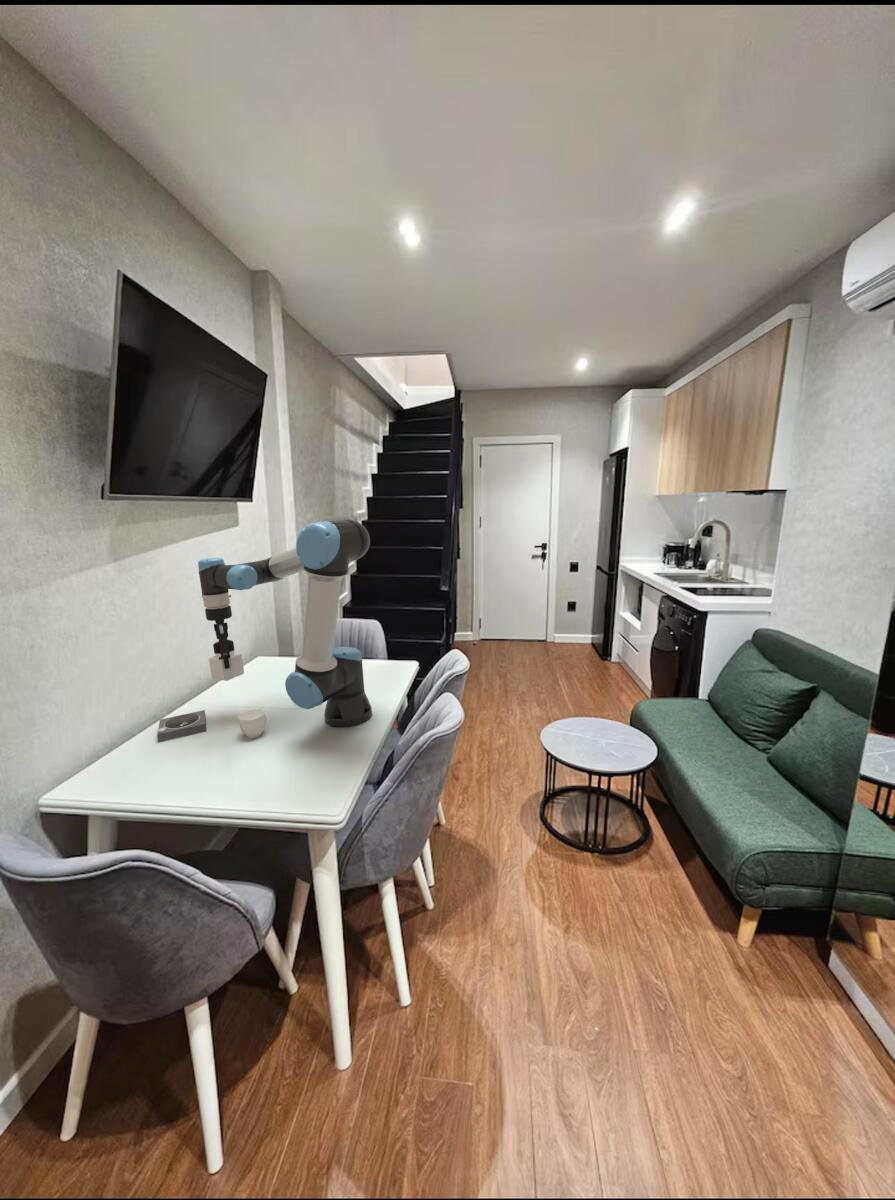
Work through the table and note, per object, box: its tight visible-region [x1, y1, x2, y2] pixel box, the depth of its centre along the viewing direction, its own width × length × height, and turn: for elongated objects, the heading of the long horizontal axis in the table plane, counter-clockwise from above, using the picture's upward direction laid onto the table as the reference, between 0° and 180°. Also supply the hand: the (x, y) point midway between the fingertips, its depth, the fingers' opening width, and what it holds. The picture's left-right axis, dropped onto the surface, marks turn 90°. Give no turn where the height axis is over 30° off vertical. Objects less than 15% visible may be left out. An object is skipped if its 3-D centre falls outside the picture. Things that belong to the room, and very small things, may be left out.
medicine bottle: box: [208, 639, 245, 682], centre depth 154 cm, size 7×7×12 cm
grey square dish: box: [156, 709, 207, 743], centre depth 151 cm, size 12×13×3 cm
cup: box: [237, 708, 267, 739], centre depth 145 cm, size 8×10×7 cm
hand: (227, 672), depth 155 cm, fingers closed on medicine bottle, 10 cm apart
